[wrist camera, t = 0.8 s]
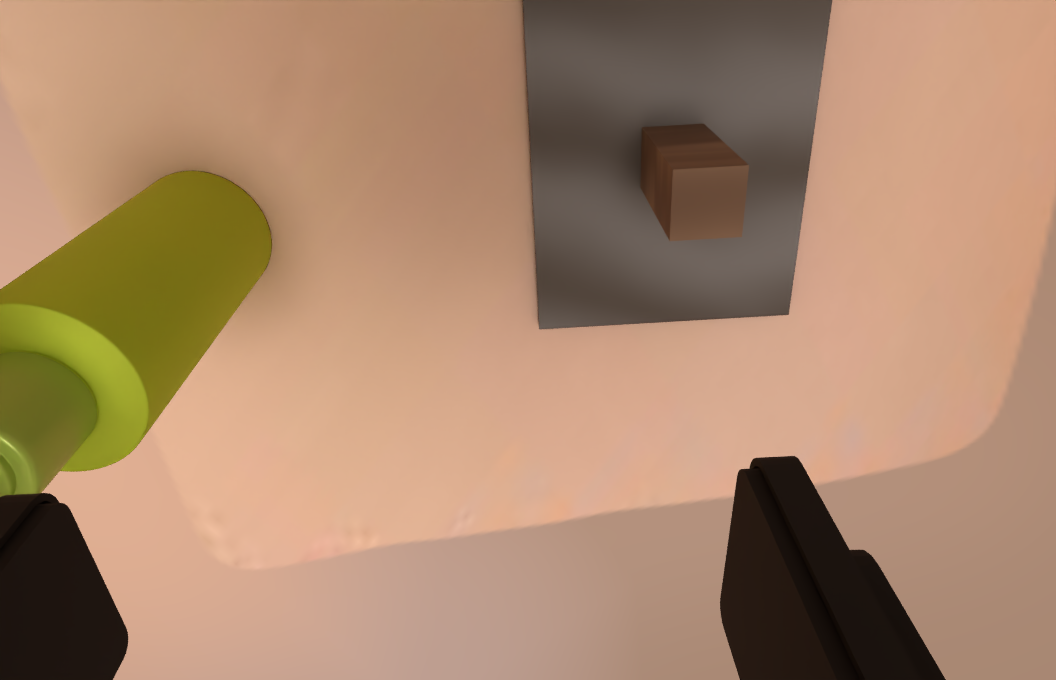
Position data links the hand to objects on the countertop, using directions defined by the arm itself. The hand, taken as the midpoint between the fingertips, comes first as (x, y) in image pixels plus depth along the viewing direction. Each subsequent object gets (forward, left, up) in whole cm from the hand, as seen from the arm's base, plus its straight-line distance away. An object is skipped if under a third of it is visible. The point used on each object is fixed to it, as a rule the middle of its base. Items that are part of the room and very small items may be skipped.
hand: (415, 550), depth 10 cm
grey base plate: (+1, +8, -24) cm, 25 cm away
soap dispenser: (+3, -13, -24) cm, 27 cm away
